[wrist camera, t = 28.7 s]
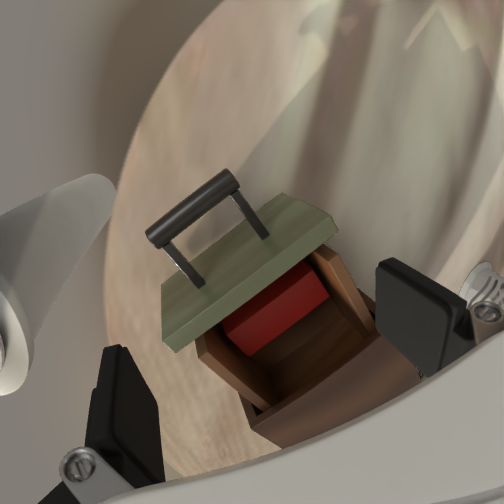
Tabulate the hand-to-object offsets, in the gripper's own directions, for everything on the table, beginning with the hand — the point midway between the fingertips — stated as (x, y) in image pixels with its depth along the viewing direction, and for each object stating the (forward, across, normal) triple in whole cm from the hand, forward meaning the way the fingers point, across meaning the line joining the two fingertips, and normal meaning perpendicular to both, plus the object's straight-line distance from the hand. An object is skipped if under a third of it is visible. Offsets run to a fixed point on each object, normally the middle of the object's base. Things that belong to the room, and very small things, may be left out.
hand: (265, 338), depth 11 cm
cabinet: (+15, -8, +17) cm, 24 cm away
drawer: (+14, -3, +5) cm, 15 cm away
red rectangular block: (+13, -3, +7) cm, 15 cm away
